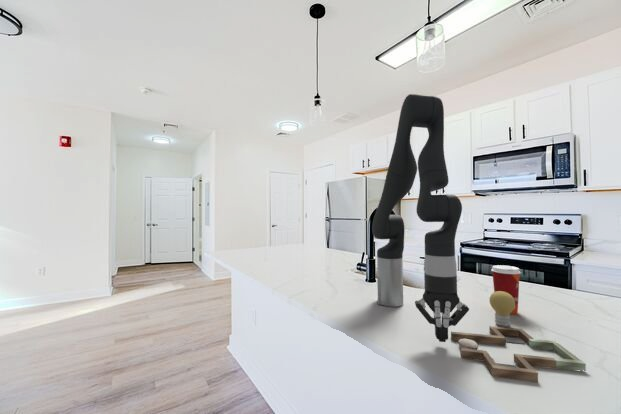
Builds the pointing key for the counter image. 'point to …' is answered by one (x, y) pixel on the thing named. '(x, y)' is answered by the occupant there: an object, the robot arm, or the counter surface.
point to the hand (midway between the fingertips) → (441, 340)
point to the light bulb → (502, 307)
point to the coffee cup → (507, 282)
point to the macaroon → (468, 344)
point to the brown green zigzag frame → (522, 361)
